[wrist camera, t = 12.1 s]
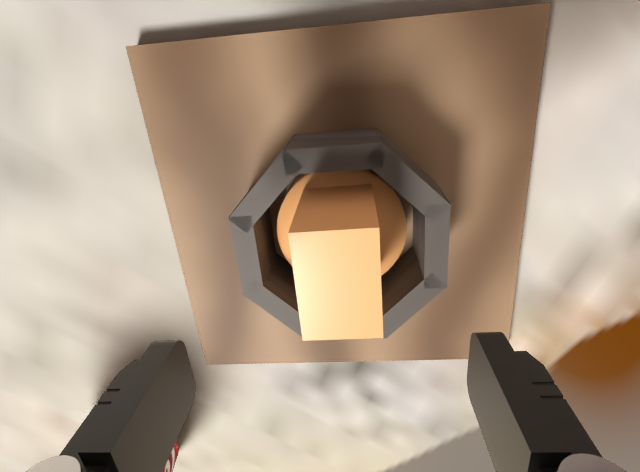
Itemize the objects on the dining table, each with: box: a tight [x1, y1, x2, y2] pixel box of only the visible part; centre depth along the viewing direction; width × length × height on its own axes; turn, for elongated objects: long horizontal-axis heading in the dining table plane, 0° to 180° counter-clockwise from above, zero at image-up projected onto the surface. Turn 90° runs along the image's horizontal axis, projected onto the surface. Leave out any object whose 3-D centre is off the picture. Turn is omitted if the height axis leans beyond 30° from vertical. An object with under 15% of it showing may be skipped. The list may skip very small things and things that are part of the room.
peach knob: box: [277, 169, 407, 341], centre depth 17 cm, size 6×6×7 cm
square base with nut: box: [126, 2, 551, 365], centre depth 19 cm, size 18×18×4 cm
